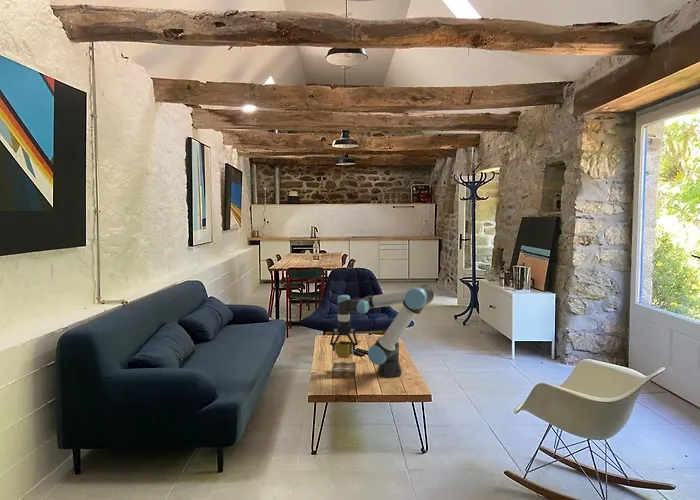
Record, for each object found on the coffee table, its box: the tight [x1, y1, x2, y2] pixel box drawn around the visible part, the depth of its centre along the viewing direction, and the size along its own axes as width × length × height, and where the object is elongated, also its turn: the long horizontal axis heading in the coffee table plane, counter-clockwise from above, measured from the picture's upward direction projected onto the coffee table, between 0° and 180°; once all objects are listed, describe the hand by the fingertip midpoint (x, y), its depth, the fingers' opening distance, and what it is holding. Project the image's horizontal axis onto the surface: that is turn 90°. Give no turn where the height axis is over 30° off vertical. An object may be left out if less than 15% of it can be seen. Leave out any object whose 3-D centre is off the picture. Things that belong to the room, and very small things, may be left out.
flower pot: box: [335, 340, 352, 359], centre depth 301 cm, size 9×9×9 cm
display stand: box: [331, 361, 357, 379], centre depth 301 cm, size 14×14×6 cm
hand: (343, 356), depth 301 cm, fingers closed on flower pot, 10 cm apart
